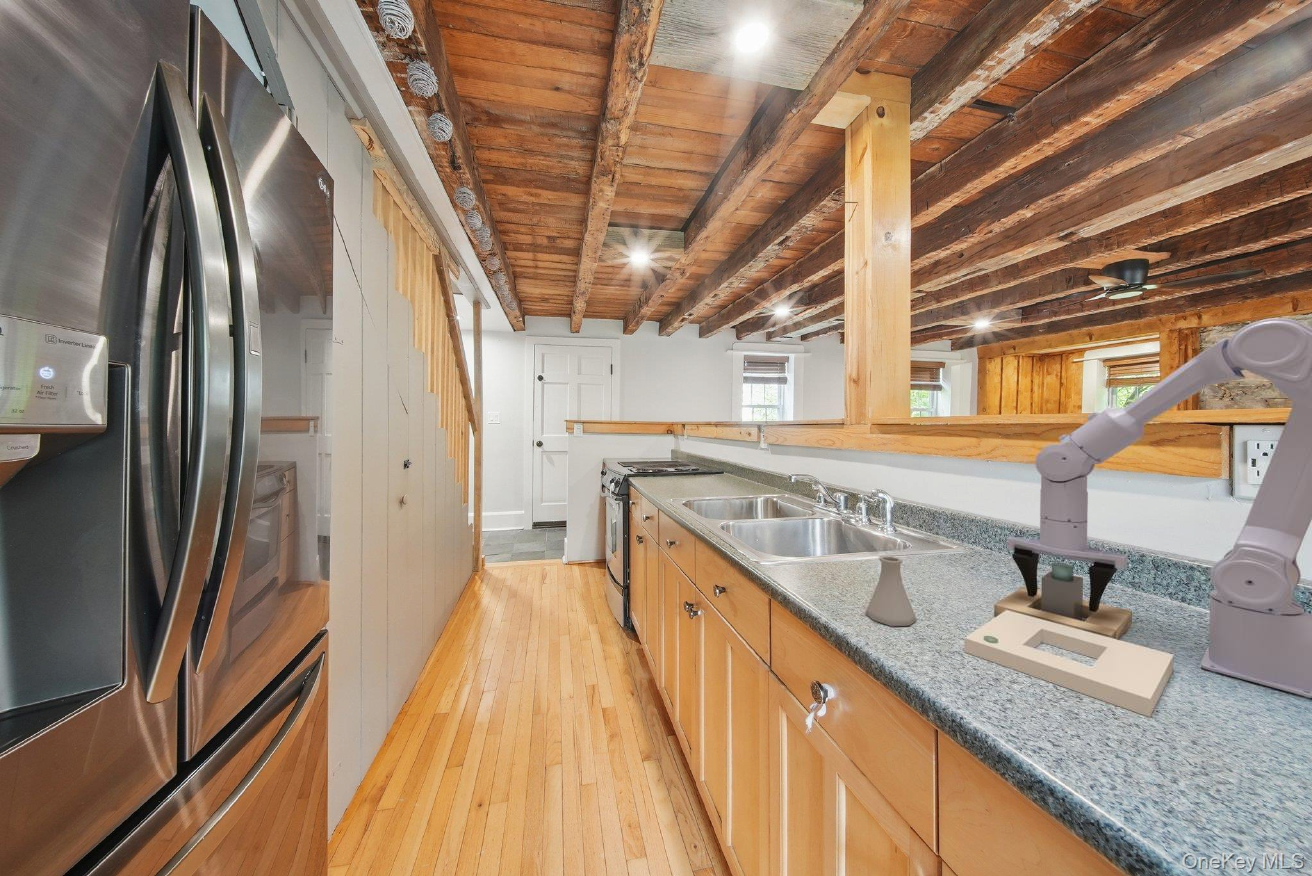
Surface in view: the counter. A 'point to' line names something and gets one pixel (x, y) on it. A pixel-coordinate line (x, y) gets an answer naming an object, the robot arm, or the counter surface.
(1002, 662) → the port dock
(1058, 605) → the plug
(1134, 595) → the counter surface
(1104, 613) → the slotted wooden base
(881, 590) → the flask
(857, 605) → the counter surface
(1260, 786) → the counter surface
